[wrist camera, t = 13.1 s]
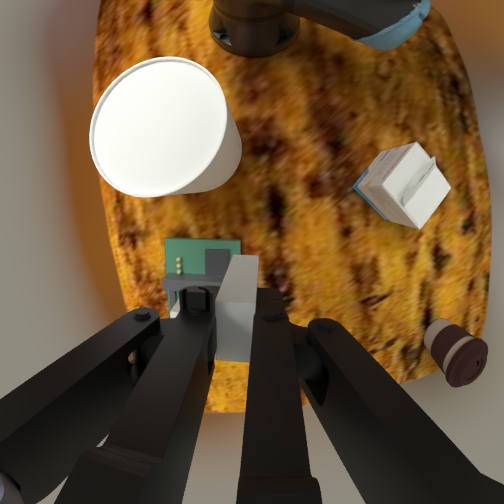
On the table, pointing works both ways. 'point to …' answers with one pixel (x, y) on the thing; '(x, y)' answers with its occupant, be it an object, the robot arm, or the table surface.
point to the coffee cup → (456, 352)
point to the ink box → (403, 185)
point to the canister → (164, 130)
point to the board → (196, 263)
